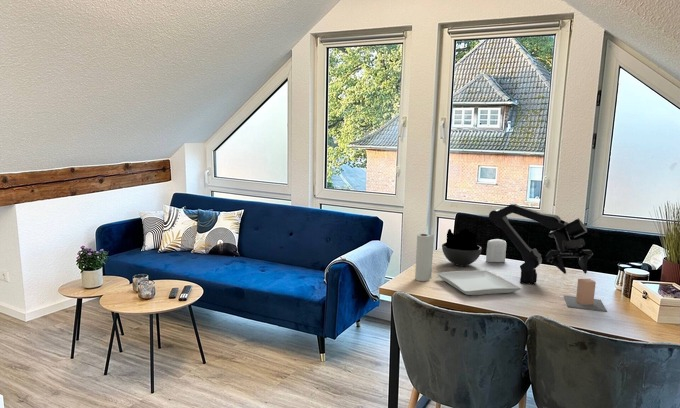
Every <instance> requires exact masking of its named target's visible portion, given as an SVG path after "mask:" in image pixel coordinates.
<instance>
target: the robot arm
mask: <svg viewBox="0 0 680 408" xmlns="http://www.w3.org/2000/svg"><path fill="white" fill-rule="evenodd" d="M510 214H516V215H518V216H521V217H524V218H527V219H530V220H532V221H533V222H534V221H535V222H537V223H538V224H540V225H541V226H543V227H545V228H547V229H549V230H550V232H548V233H547V234H548V237H550V238H554V239H555V240H554V241H555V243H556V246H555V248H556V249H550V250H549V251H548V252H547V254H546V255H545V260H546V262H547V263H550V264H552V265H554V266H555V267H557V269H558V270H560V271H561V273H563V275H566V274H567V270H566V267H565V265H564V262H563V258H564V259H566V258H570V259H571V258H572V259H573V258H576V259H577V260H578V261H577V263H578V264H579V267H580V268H581V270H582V272H583V274H587V273H588V260H589V259H591V258H592V256H594V253H593V251H592V250H591V249H581V248H583V247H584V246H585V245H586V242H585V240H584V238H578V239H571V238H570V237H573V238H577V237H579V236H581V235H584V234H585V233H586V234H587V233H588V229H587V227H586V225H585V224H584V223H583V222H582V220H580V218H576V219H574V220H572V221H570V222H567V221H565V220H563V219H561V217H560V216H559V215H558V214H557V215H556V214H552V213H543V212H542V213H541V212H539V211H536V210H533V209H531V208H528V207H524V206H521V205H519V204H517V203H510V204H509V205H507V206H505V207H503V208H496V209H493V210H491V211H490V212H489V214H488V219H489V221H490V222H491V223H492V224H493V225H495V226H497V227H498V228H500V229H501V230H502V232H503V233H504V234H505V235H506V237H507V238H508V239H509V240H510V241H511V243H512V244H513V245H514V246H515V248H516V249H517V250H518V251H519V252H520V254H521V258H522V260H523V261H524V262H523V263H522V264H520V266H519V268H520V278H519V283H520V284H525V285H534V286H535V285H536V284H537V280H538V273H537V270H536V268H537V267H539V266H540V265H541V264H542V262H543V258H542V254H541V253H540V252H539V251H538V249H537V248H536V247H535V248H533V249H532V248H531V247H530V246H529V245H528V244H527V243H526V241H525V240H523V238H522V237H521V236H520V234H519V233H518V232H517V231H516V230H515V229H514V226H512V225H511V223H510V222H509V218H508V215H510ZM579 248H580V249H581V250H580V251H579V252H578V249H579Z"/></svg>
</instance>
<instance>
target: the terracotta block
mask: <svg viewBox="0 0 680 408" xmlns="http://www.w3.org/2000/svg"><path fill="white" fill-rule="evenodd" d="M596 283H597V282H596V281H595V280H593V279H591V278H577V288H576V295H575V297H576V302H578V303H580V304H581V305H592V304H593V303H594V299H595V292H596Z"/></svg>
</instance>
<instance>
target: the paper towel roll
mask: <svg viewBox="0 0 680 408" xmlns="http://www.w3.org/2000/svg"><path fill="white" fill-rule="evenodd" d="M416 237H417V238H416V250H415V251H416V254H415V273H414V274H415V275H414V279H415V280H416V281H417V282H427V281H429V280H431V279H432V275H433V274H432V273H433V257H434V256H433V255H434V237H435V234H428V233H418V234H417V235H416Z"/></svg>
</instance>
